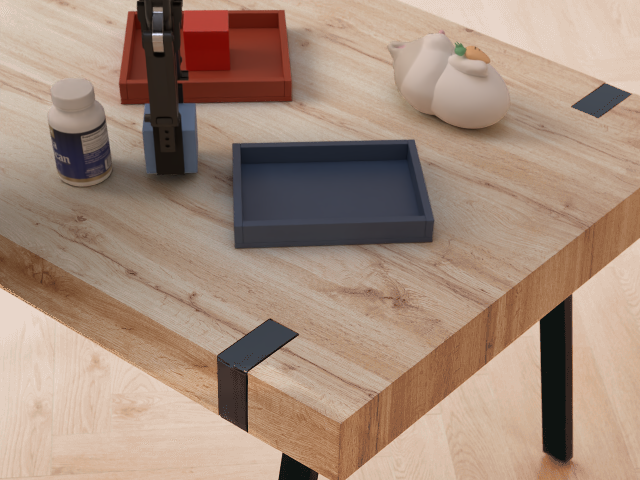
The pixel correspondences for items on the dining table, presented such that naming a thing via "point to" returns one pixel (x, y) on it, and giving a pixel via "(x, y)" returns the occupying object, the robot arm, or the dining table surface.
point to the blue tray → (329, 194)
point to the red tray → (224, 85)
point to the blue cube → (187, 132)
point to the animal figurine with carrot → (449, 81)
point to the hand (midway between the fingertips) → (171, 156)
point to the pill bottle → (79, 133)
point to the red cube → (206, 40)
